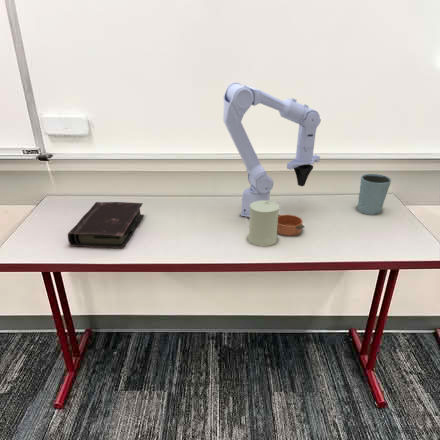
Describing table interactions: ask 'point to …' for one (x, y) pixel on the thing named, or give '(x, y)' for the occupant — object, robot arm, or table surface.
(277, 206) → the can
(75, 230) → the diary
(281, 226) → the pan
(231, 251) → the table surface
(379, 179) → the grey cylinder
